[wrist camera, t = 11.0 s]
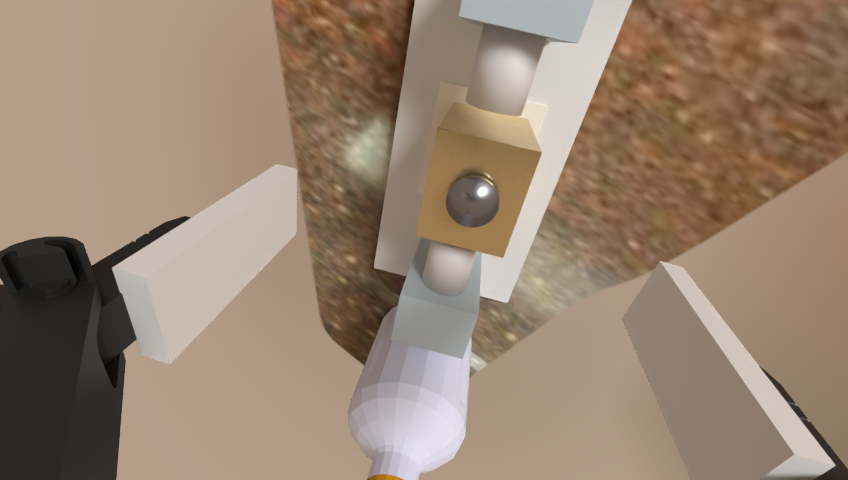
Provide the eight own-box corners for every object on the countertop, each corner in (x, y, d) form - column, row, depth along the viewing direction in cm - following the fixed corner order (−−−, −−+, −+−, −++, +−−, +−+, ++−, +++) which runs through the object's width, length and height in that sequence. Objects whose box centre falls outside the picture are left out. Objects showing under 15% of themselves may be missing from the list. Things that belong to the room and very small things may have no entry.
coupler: (435, 184, 27) (412, 242, 19) (453, 101, 24) (435, 131, 16) (500, 201, 27) (503, 265, 19) (528, 119, 24) (544, 157, 16)
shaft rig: (431, -81, 21) (393, -152, 13) (641, -36, 20) (734, -81, 12) (376, 261, 33) (340, 331, 25) (507, 296, 32) (511, 377, 24)
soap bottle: (374, 350, 38) (227, 735, 17) (393, 285, 34) (224, 701, 13) (455, 377, 38) (407, 796, 17) (485, 315, 34) (470, 784, 13)
